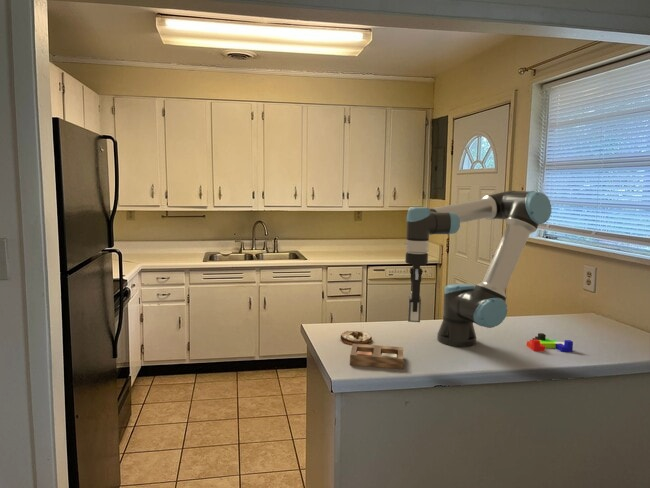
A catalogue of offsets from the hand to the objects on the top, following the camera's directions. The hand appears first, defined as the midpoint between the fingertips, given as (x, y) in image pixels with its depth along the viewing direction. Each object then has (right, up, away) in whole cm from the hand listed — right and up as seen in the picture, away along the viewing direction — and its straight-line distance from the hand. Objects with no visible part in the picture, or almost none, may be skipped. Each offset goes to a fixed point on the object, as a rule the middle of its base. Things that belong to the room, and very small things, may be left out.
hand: (414, 318), depth 170 cm
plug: (0, -1, 0) cm, 1 cm away
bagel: (-19, -13, +23) cm, 33 cm away
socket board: (-13, -15, +1) cm, 20 cm away
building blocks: (+56, -15, +23) cm, 62 cm away
